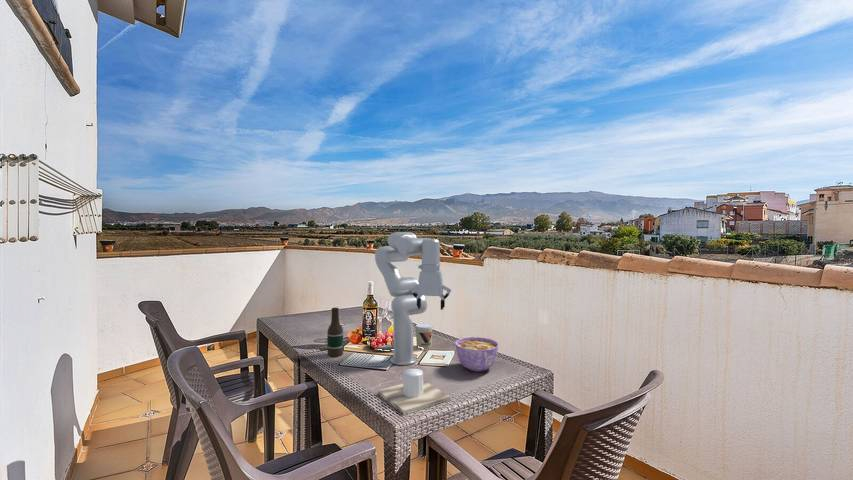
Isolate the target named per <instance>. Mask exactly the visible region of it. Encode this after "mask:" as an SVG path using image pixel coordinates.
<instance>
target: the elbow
mask: <svg viewBox="0 0 853 480" xmlns="http://www.w3.org/2000/svg"><path fill="white" fill-rule="evenodd" d="M423 380H424V371H423V370H421V369H419V368H409V369H408V368H407V369H405V370H403V373H402V384H403V394H404V396H407V397H413V398H414V397H419V396H421V395H422V394H423Z"/></svg>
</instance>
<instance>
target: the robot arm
mask: <svg viewBox="0 0 853 480" xmlns="http://www.w3.org/2000/svg"><path fill="white" fill-rule="evenodd" d="M387 244H388V245H384V246H380V247H377V249H376V250H375V254H374V259H375V260H374V261H375V263H376V267H377V268H378V270H379V272H380V274H381V275H382V277H383V279H384V282H385V284H386V287H387V290H388V293H389V294H390V297H394V298H393V299H392V300H391V305H390V306H391V307H390V308H391V311H392V312H391V313H392V320H393V339H394V350H392V351H391V352H392V353H393V356H392V357H390V360H389V361H390V363H391V364H393V365H397V366H409V365H413V364H415V363H416V362H417V356H415V355H414V324H413V321H412V320H411V319H410V317H409V316H413V315H420V314H423V313H425V312H427V309H428V301H427V299H426V297H439V298H440V299H441V300H440V310H441V311H442V310H444V308H445V307H446V306H445V304H446V299H447V298H448V297H449V296H450V294H451V292H452V288H449V287H447V286H446V285H444V284H443V276H442V275H443V274H442V271H441V269H440V265H441V264H440V262H441V261H440V258H441V257H440V255H441V254H440V253H441V251H440V250H441V249H440V246H441V245H440V244H441V243H440V240H439V239H437V238H429V237H417V235H416V234H415V233H413V232H412V231H396V232H392V233H391V234H389V236H388V238H387ZM412 256H421V264H420V265H418V269H420V270H421V271H419V275H418V278H415V277H412V276H406V277H405V276H404V277H403V276H402V275H401V272H400V270H399V268H397V266H396V265H394V264H393V263H400V262H401V263H402V262H407V261H408V260H409V259H410V257H412ZM444 291H446V293H445V294H444Z"/></svg>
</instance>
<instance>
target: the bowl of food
mask: <svg viewBox="0 0 853 480" xmlns="http://www.w3.org/2000/svg"><path fill="white" fill-rule="evenodd" d="M499 347H500V344H499V342H498V341H496V340H494V339H491V338H486V337H479V336H477V337H475V336H470V337H462V338H459V339H457V340H456V341H455V348H456V355H457V357H458V361H459V363H460V364H461V366H463V367H464V368H466V369H468V370H470V371H471V372H477V373H478V372H483V371H486V370H488V369H489V368H492V367H493V366H494V364H495V362H496V359H497V357H498V356H497V355H498V351H499Z"/></svg>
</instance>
